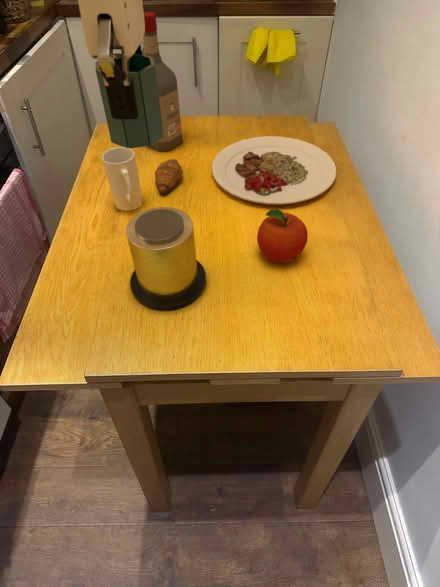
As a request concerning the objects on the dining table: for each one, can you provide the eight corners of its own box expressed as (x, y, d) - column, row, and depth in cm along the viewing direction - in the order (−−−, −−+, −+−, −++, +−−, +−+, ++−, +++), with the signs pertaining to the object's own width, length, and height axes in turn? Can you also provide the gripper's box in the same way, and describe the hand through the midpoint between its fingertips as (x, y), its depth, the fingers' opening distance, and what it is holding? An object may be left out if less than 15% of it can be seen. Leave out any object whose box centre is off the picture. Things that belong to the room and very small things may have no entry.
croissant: (177, 198, 94) (175, 179, 91) (149, 196, 95) (145, 177, 91) (188, 166, 103) (187, 148, 100) (162, 165, 104) (160, 147, 100)
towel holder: (115, 290, 75) (97, 232, 65) (163, 247, 83) (153, 189, 73) (175, 323, 70) (166, 265, 60) (220, 273, 78) (218, 215, 67)
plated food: (321, 140, 111) (323, 128, 108) (347, 207, 91) (351, 194, 88) (211, 144, 110) (210, 132, 108) (213, 212, 90) (212, 199, 88)
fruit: (300, 275, 77) (307, 234, 69) (251, 265, 79) (253, 224, 71) (308, 242, 83) (315, 201, 75) (262, 234, 85) (265, 194, 78)
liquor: (187, 140, 112) (176, 12, 90) (164, 154, 108) (147, 22, 85) (163, 131, 116) (147, 6, 94) (140, 144, 111) (117, 15, 89)
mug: (111, 198, 95) (98, 151, 86) (139, 191, 96) (129, 144, 87) (122, 223, 88) (109, 174, 80) (151, 215, 90) (142, 166, 81)
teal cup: (100, 139, 55) (82, 66, 48) (134, 119, 59) (122, 49, 52) (139, 152, 52) (127, 78, 46) (173, 130, 56) (165, 59, 50)
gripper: (86, -91, 45) (118, 77, 59) (30, -68, 34) (85, 136, 47) (153, -92, 45) (169, 78, 58) (119, -69, 33) (149, 136, 47)
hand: (132, 102), depth 52 cm, fingers closed on teal cup, 7 cm apart
